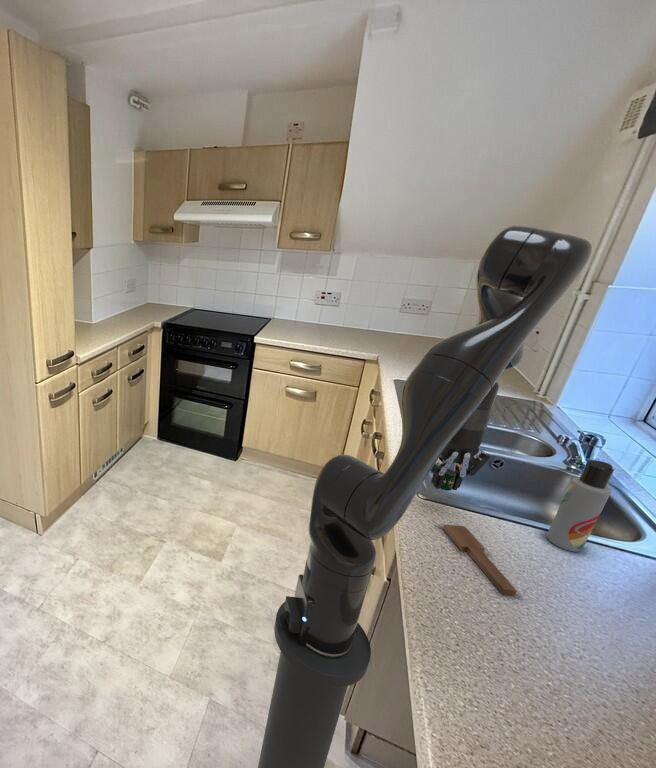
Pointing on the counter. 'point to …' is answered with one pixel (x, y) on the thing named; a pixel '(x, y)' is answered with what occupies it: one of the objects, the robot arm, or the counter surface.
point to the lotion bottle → (581, 506)
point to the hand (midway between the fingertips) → (444, 487)
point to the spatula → (479, 556)
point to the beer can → (448, 480)
